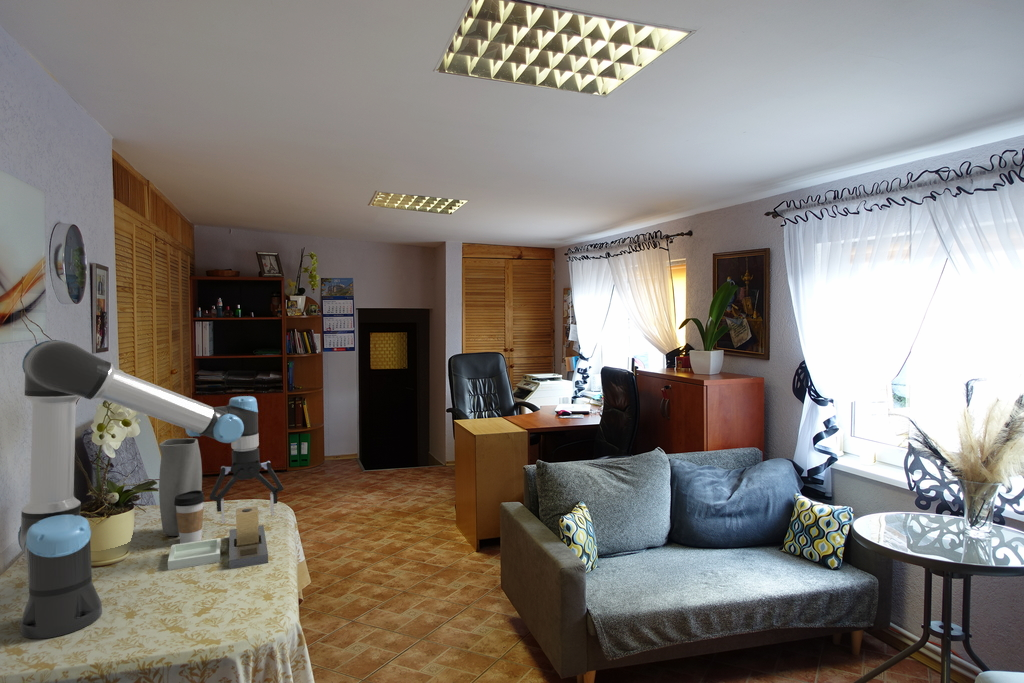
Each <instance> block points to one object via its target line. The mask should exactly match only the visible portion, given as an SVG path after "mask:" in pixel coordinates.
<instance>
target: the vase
mask: <svg viewBox="0 0 1024 683" xmlns="http://www.w3.org/2000/svg"><path fill="white" fill-rule="evenodd" d="M158 446H159V450H160V453H161V456H160V466H159V476H158V477H159V480H158V484H159V485H158V492H159V493H158V494H159V496H158V499H159V510H160V520H161V527H162V531H163V533H164V534H165V535H166V536H169V537H177V536H178V537H179V530H178V523H177V516H176V506H175V505H174V501H175V497H176V496H177V495H179V494H182V493H186V492H190V491H195V490H200V491H203V490H202V489H203V488H202V487H203V486H202V485H203V468H202V467H203V466H202V457H201V455H202V454H201V450H200V445H199V440H198V438H193V437H192V438H191V437H190V438H169V439H166V440H164V441H163V442H161V443H159V444H158Z"/></svg>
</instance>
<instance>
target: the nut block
mask: <svg viewBox="0 0 1024 683" xmlns="http://www.w3.org/2000/svg"><path fill="white" fill-rule="evenodd" d="M235 520H236V523H235V524H236V525H235V526H236V527H235V529H236V530H237V547H242V546H249V545H255V544H260V543H259V526H260V525H259V507H258V505H254V506H247V507H240V508H236V509H235Z"/></svg>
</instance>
